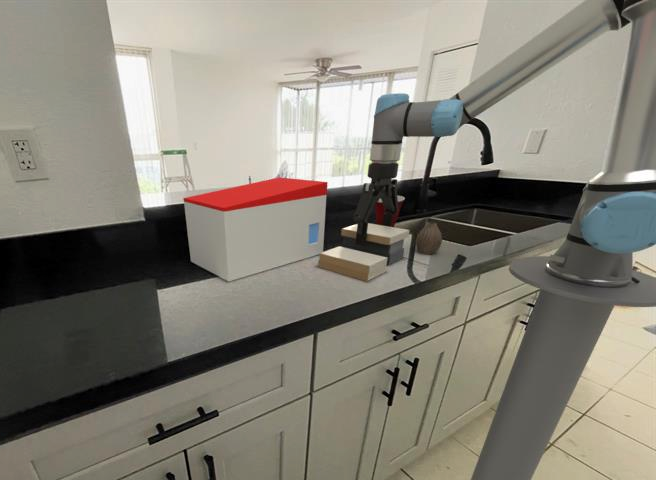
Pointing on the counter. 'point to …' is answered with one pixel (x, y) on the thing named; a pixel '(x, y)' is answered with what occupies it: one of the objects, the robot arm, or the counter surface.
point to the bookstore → (256, 226)
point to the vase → (429, 239)
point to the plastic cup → (381, 211)
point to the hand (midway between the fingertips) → (373, 240)
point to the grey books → (377, 248)
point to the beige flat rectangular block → (378, 233)
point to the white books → (353, 263)
